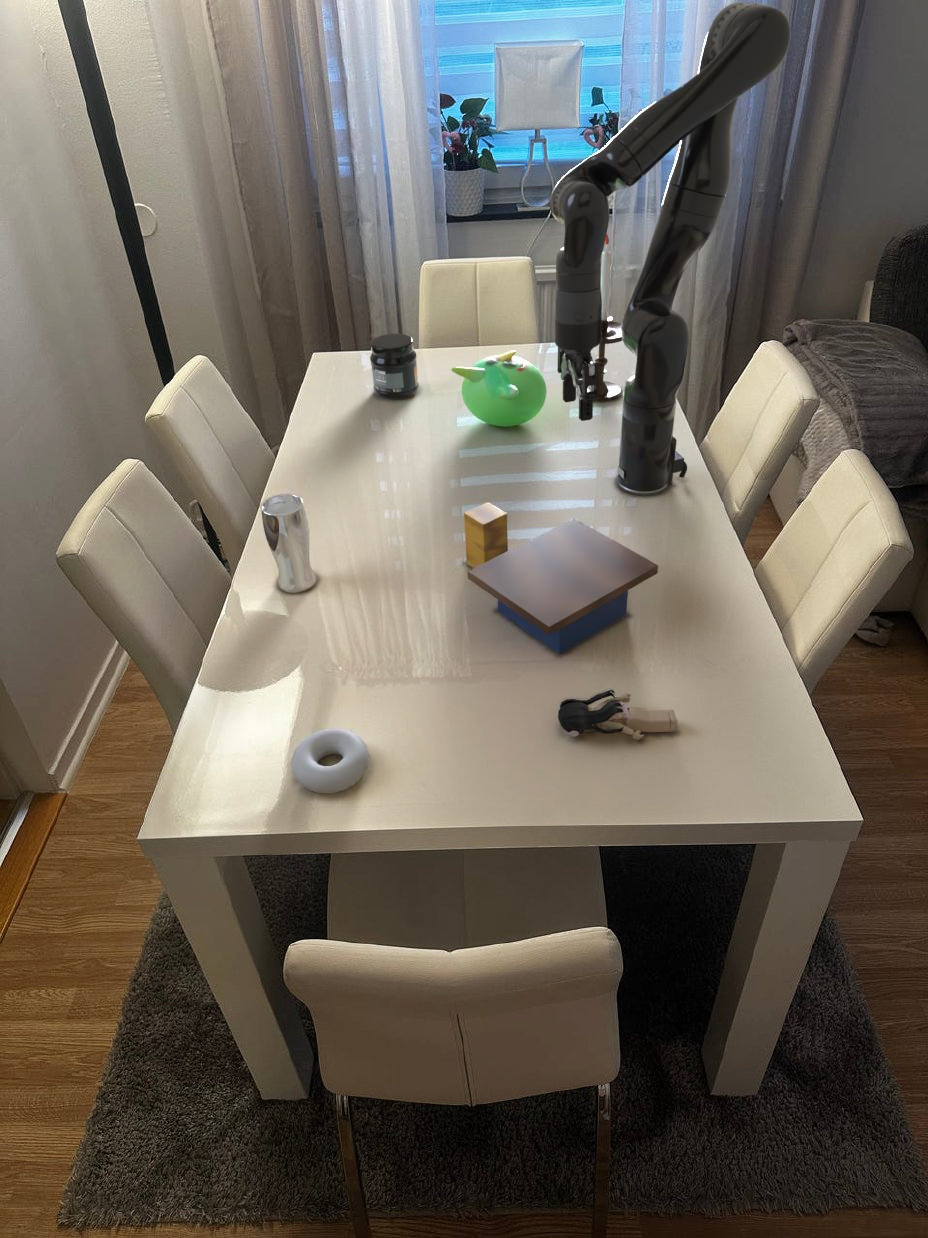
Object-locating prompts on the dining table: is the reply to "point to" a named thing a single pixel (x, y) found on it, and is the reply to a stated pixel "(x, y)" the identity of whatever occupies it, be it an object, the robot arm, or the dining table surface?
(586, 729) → the toy figure
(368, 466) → the dining table surface
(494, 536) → the block
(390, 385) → the supplement container
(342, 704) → the dining table surface
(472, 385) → the toy bird
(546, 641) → the blue box
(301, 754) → the donut
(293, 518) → the beer glass
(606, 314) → the candlestick
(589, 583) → the board
